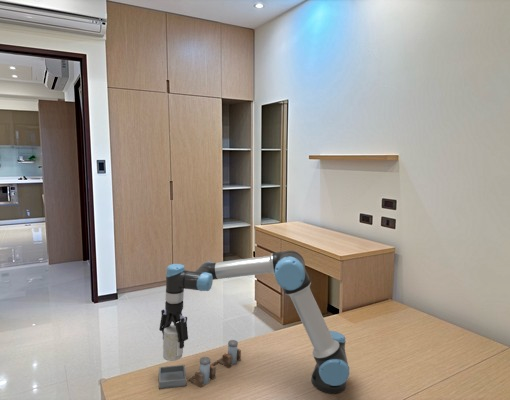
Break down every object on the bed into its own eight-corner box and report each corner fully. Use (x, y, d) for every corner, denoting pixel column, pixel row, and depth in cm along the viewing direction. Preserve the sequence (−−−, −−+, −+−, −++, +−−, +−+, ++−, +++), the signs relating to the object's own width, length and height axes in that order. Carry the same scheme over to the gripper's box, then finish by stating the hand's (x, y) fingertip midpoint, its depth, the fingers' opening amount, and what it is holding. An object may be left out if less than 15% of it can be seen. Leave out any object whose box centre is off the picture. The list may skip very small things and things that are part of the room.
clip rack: (240, 359, 172) (241, 349, 171) (200, 387, 149) (201, 375, 148) (228, 354, 176) (229, 344, 175) (188, 380, 153) (188, 369, 152)
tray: (184, 370, 160) (184, 364, 160) (186, 386, 149) (186, 379, 149) (159, 373, 157) (159, 367, 157) (158, 389, 146) (159, 382, 146)
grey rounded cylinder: (211, 380, 154) (212, 359, 153) (204, 385, 150) (205, 363, 149) (204, 376, 157) (204, 355, 156) (196, 381, 153) (197, 359, 152)
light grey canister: (163, 361, 147) (164, 334, 146) (162, 351, 155) (163, 325, 154) (182, 360, 149) (183, 333, 148) (181, 350, 157) (182, 324, 156)
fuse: (238, 361, 170) (239, 342, 169) (232, 365, 166) (233, 345, 165) (231, 358, 172) (232, 339, 171) (225, 362, 169) (226, 342, 168)
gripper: (198, 304, 147) (196, 355, 149) (164, 292, 159) (163, 339, 161) (185, 310, 141) (183, 363, 143) (151, 296, 153) (150, 346, 155)
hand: (172, 350), depth 152 cm, fingers closed on light grey canister, 8 cm apart
